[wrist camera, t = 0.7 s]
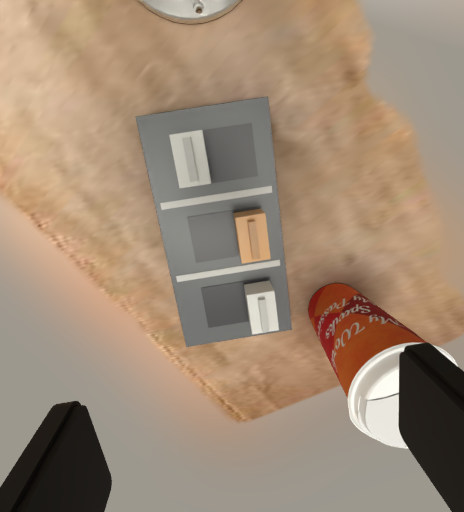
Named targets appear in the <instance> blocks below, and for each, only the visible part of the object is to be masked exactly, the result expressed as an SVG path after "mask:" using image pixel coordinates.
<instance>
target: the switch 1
mask: <svg viewBox="0 0 464 512" xmlns="http://www.w3.org/2000/svg"><path fill="white" fill-rule="evenodd" d="M169 137H170V142H171V147H172V152H173V157H174V162H175V167H176V172H177V178H178V183H179V188H186V187H193V186H199V185H205V184H211V178H210V172H209V166H208V160H207V154H206V148H205V142H204V135H203V131H202V130H197V131H191V132H184V133H178V134H171V135H169Z"/></svg>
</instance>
